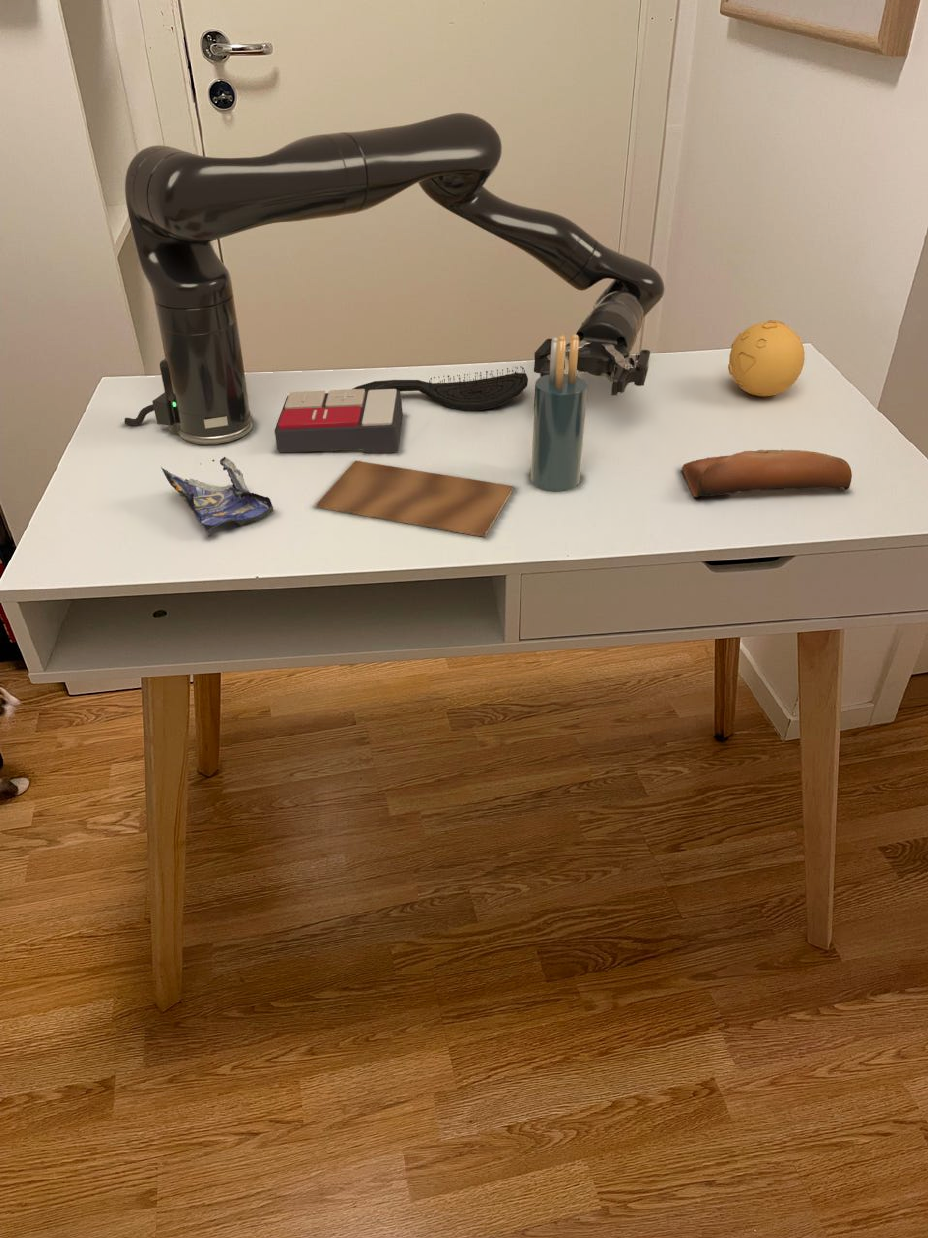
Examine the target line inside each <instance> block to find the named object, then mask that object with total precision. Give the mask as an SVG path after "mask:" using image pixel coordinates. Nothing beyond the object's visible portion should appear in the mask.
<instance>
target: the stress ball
mask: <svg viewBox="0 0 928 1238" xmlns="http://www.w3.org/2000/svg"><path fill="white" fill-rule="evenodd" d="M730 348H731V349H730V352H729V360H728V364H727V369H728V373H729V375H730V376H731V377H732V379H733V381H734V382H735V384H736V385H737V386H738V387H739V388H740V389H742V391H744V392H746V393H748V394H749V395H751V396H752V395H753V396H757V397H773V396H776V395H779V394H780V393H783V392H785V391H786V390H788V389H789V388H791V387H792V386H793V385H794V383H796V382H797V380H798V379H799V377H800V375H801V374H802V371H803V368H804V365H805V360H806V359H805V358H806V357H805V355H806V354H805V353H806V352H805V347H804V344H803V341H802V339H801V338H800V336H799V335H798V333H797V332H796V331H794V329H792V328H791V327H790V326H787V325H786V324H785V323H784V322H783V321H780V320H774V319H773V320H771V319H770V320H767V321H764V322H758V323H756V324H753V325H751V326H749V327H748V328H746V329H745V330H744V331H743V332H740V333H738V335H737V336H736V337H735V339H734V340H733V342H732V344H731V346H730Z"/></svg>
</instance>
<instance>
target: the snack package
mask: <svg viewBox="0 0 928 1238" xmlns="http://www.w3.org/2000/svg"><path fill="white" fill-rule="evenodd" d="M211 462H215V459H212V460H211ZM219 464H220V465H221V466H222V470H223V471H227V473H228V477H229V478H230V482H231V483H232V484H228V485H225V486H218V485H210V484H206V483H204V482H203V481H200V480H198V479H194V478H190V479H187V478H185V479H184V478H182V477H181V476H177V475H175V474H173V473H171V472H170V471H168V470H167V469H165V468H163V467H162V466H160V468H161V471H162V472H163V474H164V476H165V478H166V480H167V481H168V483H169V484H170V486H171V487H172V488H173V489H174V490H175V491H177V492H178V494H179V495H180V497H182V498H183V499H184V500H185V501H186V503H187V505H188V507H189V509H190V510H191V511H192V512H193V514H194V516H195V517H196V518H197V520H198V521H199V523H200V524H201V526H202V527H203V528H204V529H205V530H206V531H207V532H209V531H211V530H213V529H214V528H216V527H218V526H221V525H222V524H225V523H229V522H235V523H238V526H237V528H239V526H240V527H243V526H244V525H247V524H249V523H255V522H256V521H259V520H260V519H262V518H263V517H264V516H267V515H268V514H271V513H273V512H274V505H273V504H272V501H271V498H269V497H268V496H264V495H260V494H258V493H255V492H251V491H250V490H249V489H248V486H247V484H246V482H245V479H244V474H243V473H242V472H241V470H240V469H238V468H237V466H236V464H235V462H233V461H232V460H231V459H229V458H227V457H226V456H224V457H222V458H221V459H220V460H219ZM200 465H202V463H200ZM208 537H209V538H210V537H211V534H209V535H208Z"/></svg>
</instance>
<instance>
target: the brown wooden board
mask: <svg viewBox="0 0 928 1238" xmlns="http://www.w3.org/2000/svg"><path fill="white" fill-rule="evenodd" d="M513 491H514V485H509V484H502V483H496V482H491V481H485V480H478V479H473V478H465V477H461V476H453V475H448V474H441V473H435V472H428V471H423V470H416V469H410V468H403V467H397V466H392V465H385V464H379V463H373V462H366V461H362V460H354V461H353V462H352V464H351V465H349V467H348V469H346V470H345V472H344V473H343V474H342V475H341V476H340V477H339V479H338V480H337V481H336V482H335V483H334V484H333V485H332V486H331V487H330V488H329V490H328V491H326V492H325V494H324V495H323V496H322V498H320V499H319V501H318V502H317V503H316V508H319V509H324V510H329V511H335V512H341V513H347V514H354V515H357V516H364V517H368V518H373V519H374V518H375V519H380V520H387V521H391V522H396V523H404V524H408V525H414V526H419V527H426V528H432V529H438V530H442V531H448V532H454V533H460V534H466V535H471V536H475V537H483V538H486V537H487V535H488V533H489V532H490V530H491V528H492V527H493V525H494V524H495V522H496V520H497V519H498V517H499V515H500V513H501V512H502V509H504V506H505V505H506V503H507V501H508V499H509V498H510V496H511V495H512V493H513Z"/></svg>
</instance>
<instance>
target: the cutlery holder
mask: <svg viewBox="0 0 928 1238" xmlns="http://www.w3.org/2000/svg"><path fill="white" fill-rule="evenodd" d="M551 339H552V341H551V359H550V374H549V375H545V376H542V377H540V376H539V377H538V378H536V380H535V381H534V382H535V384H534V402H533V421H532V423H533V424H532V442H531V443H532V445H531V464H530V466H531V467H530V481H531V483H532V484H533V485H534V486H535V487H537V488H539V489H542V490H545V491H548V492H549V491H550V492H563V491H569V490H572V489H574V488H576V487H577V486H578V485H579V483H580V481H581V469H582V458H583V457H582V456H583V444H584V432H585V422H586V421H585V419H586V407H587V394H588V381H586V380H585V379H584V378H582V377H580V376H579V375H577V374H578V373H577V359H578V346H579V336H578V335H576V333H574V334H572V335H571V336H570V342H569V343H570V356H569V371H568V374H564V363H565V348H566V345H567V338H566V336H565V335H564V334H559V336H554V337H552V338H551Z"/></svg>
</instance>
